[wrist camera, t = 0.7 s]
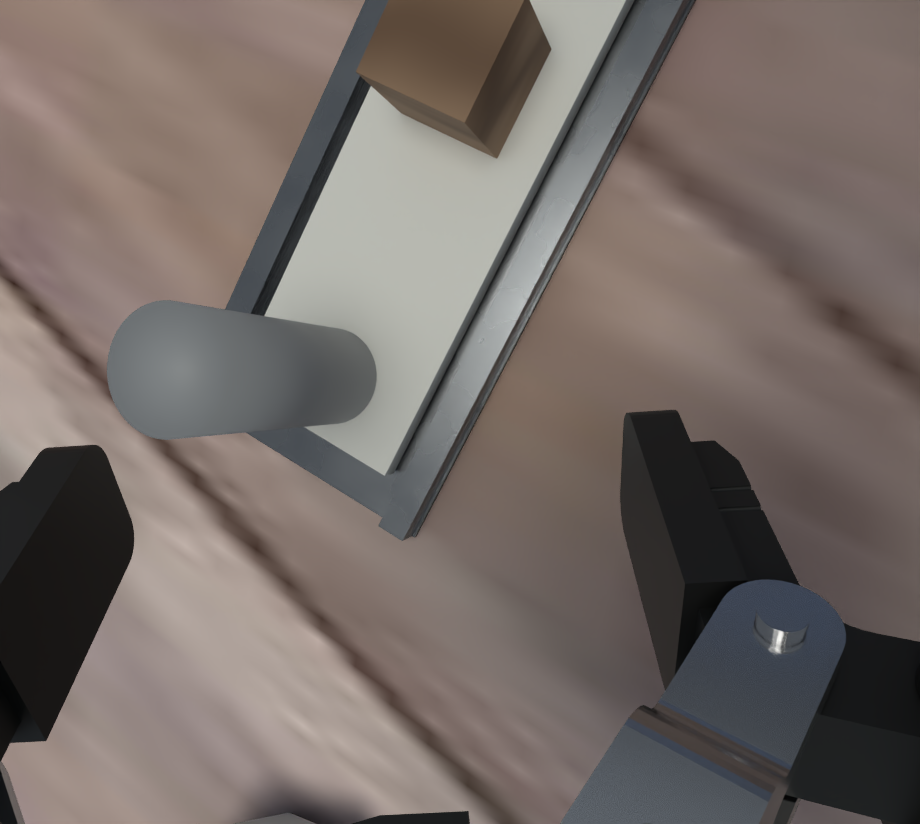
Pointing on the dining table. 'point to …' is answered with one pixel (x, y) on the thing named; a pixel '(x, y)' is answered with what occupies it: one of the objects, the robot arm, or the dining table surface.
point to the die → (279, 820)
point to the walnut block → (458, 65)
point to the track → (512, 287)
